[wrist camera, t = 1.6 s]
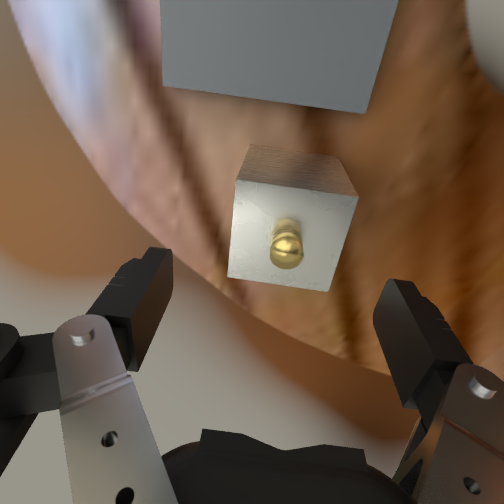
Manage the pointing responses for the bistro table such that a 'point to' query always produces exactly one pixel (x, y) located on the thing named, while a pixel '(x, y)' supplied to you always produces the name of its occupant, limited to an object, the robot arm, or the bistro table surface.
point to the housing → (290, 218)
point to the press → (277, 49)
